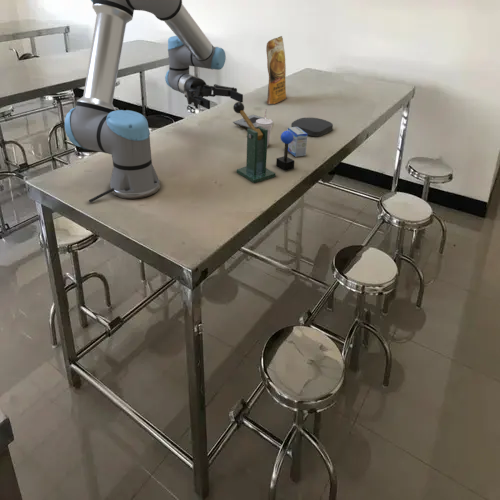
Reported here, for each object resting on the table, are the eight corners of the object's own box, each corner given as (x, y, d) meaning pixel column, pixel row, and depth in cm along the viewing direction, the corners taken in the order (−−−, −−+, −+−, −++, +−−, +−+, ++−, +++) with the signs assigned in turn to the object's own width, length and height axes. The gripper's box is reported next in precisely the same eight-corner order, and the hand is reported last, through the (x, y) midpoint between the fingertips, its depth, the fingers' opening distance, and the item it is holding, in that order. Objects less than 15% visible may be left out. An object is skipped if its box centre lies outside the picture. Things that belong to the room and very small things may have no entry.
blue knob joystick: (284, 171, 167) (287, 134, 159) (275, 166, 170) (277, 130, 163) (294, 168, 169) (297, 131, 162) (285, 163, 172) (287, 127, 165)
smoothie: (275, 145, 186) (277, 109, 178) (263, 150, 182) (265, 113, 174) (262, 141, 190) (264, 105, 182) (251, 145, 186) (252, 109, 178)
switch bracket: (236, 172, 165) (237, 127, 156) (257, 166, 170) (259, 122, 161) (254, 183, 159) (255, 136, 150) (275, 176, 163) (278, 131, 154)
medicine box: (285, 149, 183) (287, 127, 178) (296, 148, 185) (297, 126, 180) (295, 157, 177) (297, 134, 172) (306, 155, 179) (308, 133, 174)
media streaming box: (317, 138, 193) (318, 131, 192) (287, 130, 201) (287, 123, 199) (335, 129, 203) (336, 122, 202) (306, 121, 210) (306, 114, 209)
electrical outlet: (252, 119, 211) (253, 113, 210) (272, 124, 206) (272, 119, 204) (233, 126, 202) (233, 121, 201) (252, 133, 197) (252, 127, 196)
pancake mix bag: (259, 103, 230) (261, 40, 214) (278, 94, 243) (282, 34, 228) (271, 106, 227) (274, 42, 211) (290, 96, 240) (294, 36, 225)
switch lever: (230, 108, 161) (233, 100, 158) (238, 106, 163) (242, 98, 160) (253, 142, 156) (256, 135, 154) (262, 140, 158) (265, 133, 155)
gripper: (221, 92, 187) (254, 106, 173) (163, 102, 175) (194, 119, 161) (221, 72, 183) (255, 85, 169) (162, 81, 170) (194, 96, 156)
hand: (225, 101), depth 165 cm, fingers open, 13 cm apart
